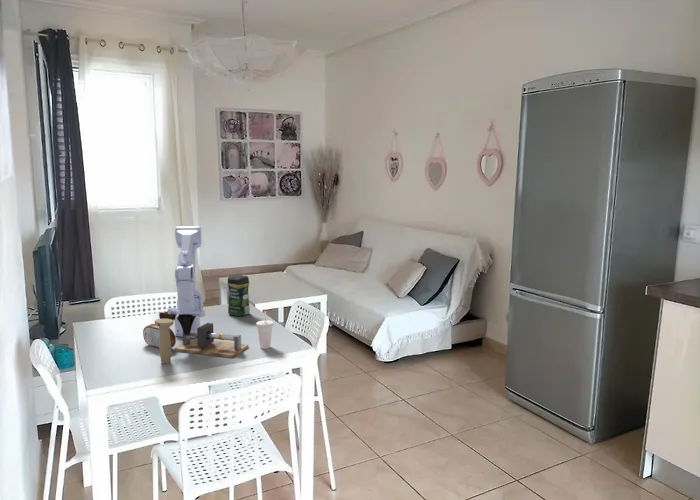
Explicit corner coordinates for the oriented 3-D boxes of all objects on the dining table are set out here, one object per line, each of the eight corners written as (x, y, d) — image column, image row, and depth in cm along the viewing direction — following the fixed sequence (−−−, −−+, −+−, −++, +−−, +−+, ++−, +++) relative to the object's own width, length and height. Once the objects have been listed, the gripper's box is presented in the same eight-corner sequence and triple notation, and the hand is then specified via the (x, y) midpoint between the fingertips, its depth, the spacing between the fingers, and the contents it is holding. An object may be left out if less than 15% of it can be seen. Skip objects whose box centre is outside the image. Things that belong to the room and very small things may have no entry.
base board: (174, 351, 198) (174, 348, 198) (192, 341, 210) (192, 338, 209) (233, 357, 192) (232, 354, 191) (248, 347, 203) (248, 344, 203)
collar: (197, 347, 198) (197, 328, 197) (208, 341, 205) (207, 322, 204) (203, 347, 197) (202, 328, 196) (213, 341, 204) (213, 323, 203)
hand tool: (163, 322, 236) (162, 311, 235) (158, 320, 238) (158, 310, 238) (201, 314, 249) (201, 304, 248) (197, 312, 252) (197, 302, 251)
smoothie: (259, 350, 199) (259, 314, 197) (254, 345, 205) (253, 310, 202) (276, 348, 202) (275, 312, 200) (270, 343, 208) (269, 308, 205)
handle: (164, 358, 190) (162, 317, 188) (178, 361, 187) (176, 320, 185) (153, 363, 186) (151, 321, 184) (167, 366, 183) (165, 323, 181)
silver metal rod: (183, 344, 202) (182, 330, 202) (186, 342, 205) (186, 328, 204) (238, 350, 196) (237, 336, 195) (241, 348, 198) (240, 334, 198)
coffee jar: (225, 314, 247) (224, 275, 244) (237, 310, 254) (236, 272, 251) (241, 317, 242) (240, 277, 239) (252, 313, 249) (251, 274, 246)
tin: (176, 349, 200) (175, 327, 199) (170, 352, 197) (169, 329, 196) (148, 342, 207) (147, 321, 206) (142, 345, 205) (140, 323, 203)
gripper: (162, 299, 195) (163, 335, 197) (197, 302, 191) (198, 338, 193) (173, 295, 202) (175, 329, 204) (207, 297, 198) (208, 333, 200)
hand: (187, 333), depth 199 cm, fingers closed
